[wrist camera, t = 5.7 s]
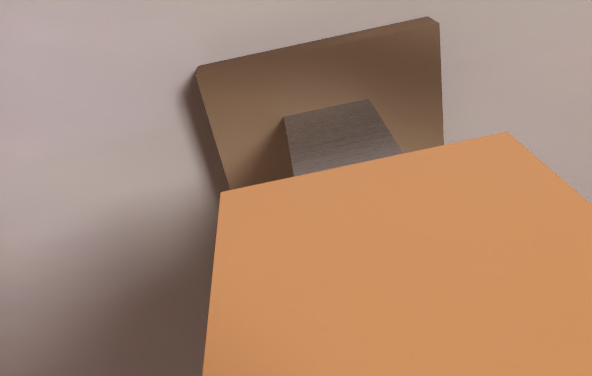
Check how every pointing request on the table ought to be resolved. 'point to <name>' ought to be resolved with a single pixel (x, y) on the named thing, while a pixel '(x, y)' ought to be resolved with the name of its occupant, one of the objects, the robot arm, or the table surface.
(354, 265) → the orange block
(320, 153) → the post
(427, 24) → the board
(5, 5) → the table surface
